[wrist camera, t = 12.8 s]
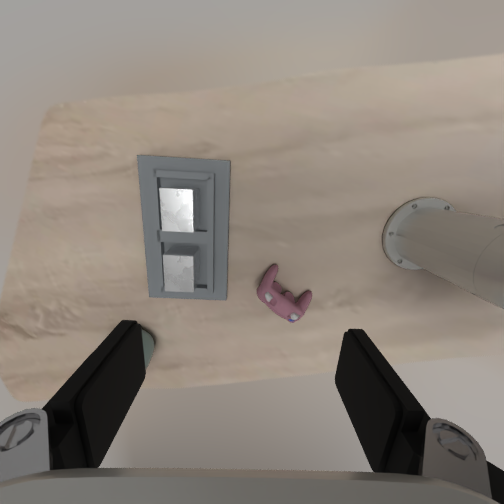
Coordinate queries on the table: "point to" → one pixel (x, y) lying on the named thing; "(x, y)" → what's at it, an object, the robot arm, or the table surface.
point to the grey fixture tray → (206, 236)
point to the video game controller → (282, 298)
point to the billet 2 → (181, 268)
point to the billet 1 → (180, 209)
